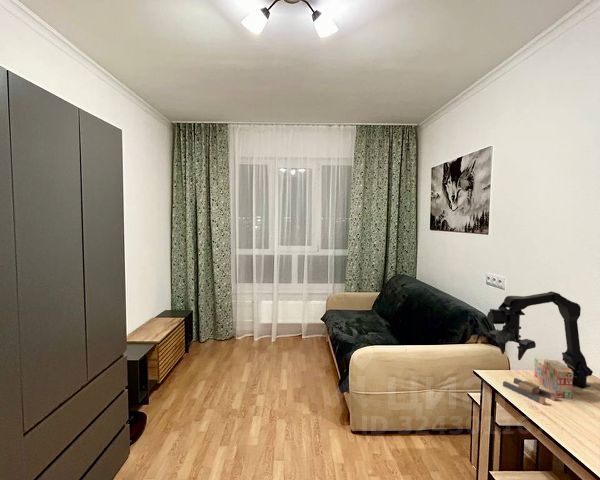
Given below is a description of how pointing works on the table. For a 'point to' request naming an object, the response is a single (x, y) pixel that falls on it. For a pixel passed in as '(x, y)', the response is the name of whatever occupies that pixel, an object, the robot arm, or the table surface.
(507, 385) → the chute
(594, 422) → the table surface
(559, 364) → the stack of blocks
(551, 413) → the table surface
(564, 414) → the table surface
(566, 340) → the robot arm
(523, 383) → the walnut block
